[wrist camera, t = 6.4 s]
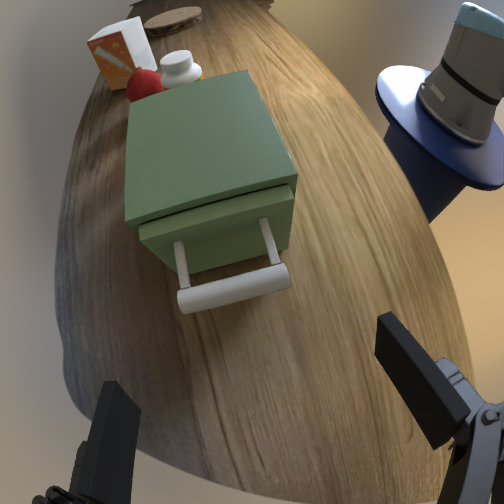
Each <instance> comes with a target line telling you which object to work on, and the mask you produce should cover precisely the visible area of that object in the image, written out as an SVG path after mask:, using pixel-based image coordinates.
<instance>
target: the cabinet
mask: <svg viewBox="0 0 504 504" xmlns="http://www.w3.org/2000/svg"><path fill="white" fill-rule="evenodd" d="M297 178H298V173H297V170H296V168H295V166H294V163H293V161H292V159H291V157H290V155H289V152H288V150H287V148H286V146H285V144H284V142H283V139H282V137H281V135H280V133H279V131H278V129H277V127H276V125H275V123H274V121H273V119H272V117H271V115H270V113H269V111H268V109H267V107H266V105H265V103H264V101H263V99H262V97H261V95H260V93H259V91H258V89H257V87H256V85H255V84H254V82H253V80H252V78H251V76H250V74H249V73H248V71H247V70H244V71H239V72H234V73H229V74H224V75H220V76H215V77H211V78H207V79H203V80H199V81H196V82H192V83H189V84H185V85H182V86H178V87H175V88H172V89H169V90H166V91H163V92H160V93H157V94H154V95H151V96H148V97H146V98H143V99H140V100H138V101H135V102H133V103H130V109H129V118H128V129H127V141H126V158H125V222H126V223H127V224H128V225H129V226H130V227H131V228H132V229H133V230H134V231H135V232H136V233H137V234H138V235H139V225H142V224H145V223H148V222H151V221H155V220H157V219H156V218H159V217H162V216H165V215H168V214H172V213H175V212H178V211H182V210H185V209H189V208H192V207H195V206H199V205H202V204H206V203H210V202H213V201H217V200H220V199H224V198H228V197H232V196H235V195H239V194H243V193H247V192H251V191H255V190H259V189H263V188H267V187H271V186H273V188H274V187H279V186H283V185H287V184H289V186H290V189H291V191H292V194H293V196H294V201H295V193H296V184H297ZM293 208H294V205H293ZM292 216H293V213H292ZM291 224H292V220H291ZM290 231H291V228H290ZM289 238H290V235H289Z"/></svg>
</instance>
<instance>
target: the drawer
mask: <svg viewBox="0 0 504 504" xmlns="http://www.w3.org/2000/svg"><path fill="white" fill-rule="evenodd" d="M293 205H294V196H293V194H292V191H291V189H290V186H289V184H287V185H283V186H279V187H274V188H273V186H271V187H267V188H263V189H259V190H255V191H251V192H247V193H243V194H239V195H235V196H232V197H228V198H224V199H220V200H217V201H213V202H210V203H206V204H202V205H199V206H195V207H192V208H189V209H185V210H182V211H178V212H175V213H172V214H168V215H165V216H162V217H159V218H156V219H157V220H155V221H151V222H148V223H145V224H142V225H139V239H140V242H141V243H142V244H144V245H145V246H146V247H147V248H148V249H149V250H150V251H151V252H152V253H154V254H155V255H156V256H157V257H158V258H159V259H160V260H161V261H163V262H164V263H165V264H166V265H167V266H168V267H169V268H171V269H172V270H173V271H174V272H175V273H176V274H177V275H178V277H179V283H180V288H181V290H179V291H178V292H177V301H178V305H179V308H180V310H181V312H182V313H183V314H184V315H185V314H190V313H194V312H198V311H202V310H207V309H211V308H215V307H219V306H223V305H227V304H231V303H235V302H239V301H242V300H246V299H250V298H254V297H258V296H261V295H265V294H269V293H272V292H276V291H280V290H283V289H287V288H290V287H291V282H290V277H289V273H288V270H287V267H286V265H285V264H284V263H282V264H280V263H281V262H280V259H279V255H278V252H277V251H280V250H284V249H287V248H288V243H289V235H290V228H291V220H292V213H293ZM265 254H268V257H269V260H270V264H271V267H267V268H263V269H260V270H256V271H252V272H248V273H245V274H241V275H237V276H233V277H230V278H226V279H222V280H218V281H214V282H210V283H206V284H202V285H199V286H195V287H191V285H190V279H189V274H193V273H197V272H201V271H205V270H208V269H212V268H216V267H220V266H224V265H227V264H231V263H235V262H239V261H242V260H246V259H250V258H254V257H258V256H261V255H265Z"/></svg>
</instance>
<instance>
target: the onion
mask: <svg viewBox="0 0 504 504" xmlns="http://www.w3.org/2000/svg"><path fill="white" fill-rule="evenodd" d="M163 91H164V90H163V87H162V84H161V76H160V75H159V74H158V73H156V72H154V71H152V70H148V69H142V68H141V66H137V67H136V68H135V71H134V72H133V74H132V75H131V77H130V78H129V80H128V83H127V89H126V93H127V97H128V99H129V100H130V102H132V103H133V102H135V101H138V100H140V99H143V98H146V97H148V96H151V95H154V94H157V93H160V92H163Z"/></svg>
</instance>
